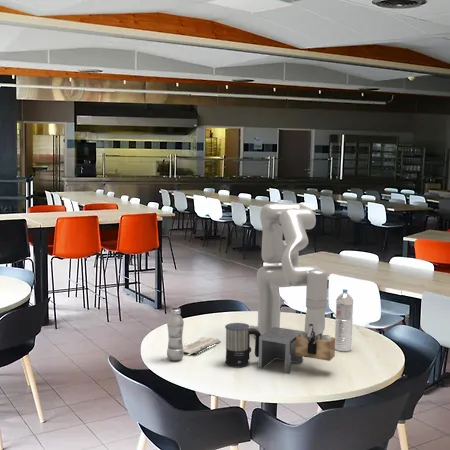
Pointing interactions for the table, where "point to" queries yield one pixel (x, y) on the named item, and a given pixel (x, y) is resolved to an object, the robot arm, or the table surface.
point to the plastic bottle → (175, 335)
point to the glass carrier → (323, 347)
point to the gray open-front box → (278, 347)
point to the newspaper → (200, 345)
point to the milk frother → (240, 344)
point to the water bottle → (343, 322)
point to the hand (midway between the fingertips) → (314, 350)
